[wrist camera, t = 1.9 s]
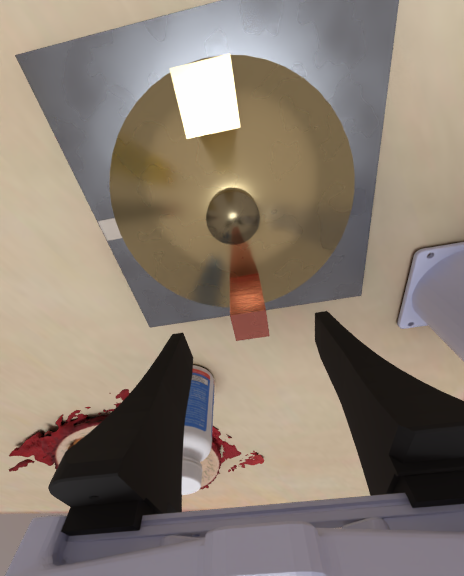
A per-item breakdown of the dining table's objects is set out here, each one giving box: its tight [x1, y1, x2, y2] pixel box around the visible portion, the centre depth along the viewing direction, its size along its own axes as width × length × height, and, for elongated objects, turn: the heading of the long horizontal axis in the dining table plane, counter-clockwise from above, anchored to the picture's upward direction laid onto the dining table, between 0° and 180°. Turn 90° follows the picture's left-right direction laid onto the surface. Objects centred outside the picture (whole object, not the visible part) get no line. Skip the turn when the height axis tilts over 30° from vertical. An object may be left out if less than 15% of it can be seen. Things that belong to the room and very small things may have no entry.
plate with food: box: [9, 389, 264, 489], centre depth 36 cm, size 25×26×4 cm
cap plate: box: [15, 0, 399, 327], centre depth 17 cm, size 18×18×1 cm
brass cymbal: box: [110, 54, 355, 341], centre depth 14 cm, size 14×14×6 cm
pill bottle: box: [182, 365, 214, 495], centre depth 24 cm, size 6×5×10 cm
